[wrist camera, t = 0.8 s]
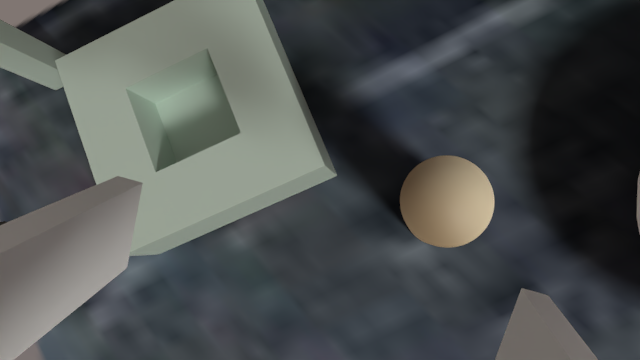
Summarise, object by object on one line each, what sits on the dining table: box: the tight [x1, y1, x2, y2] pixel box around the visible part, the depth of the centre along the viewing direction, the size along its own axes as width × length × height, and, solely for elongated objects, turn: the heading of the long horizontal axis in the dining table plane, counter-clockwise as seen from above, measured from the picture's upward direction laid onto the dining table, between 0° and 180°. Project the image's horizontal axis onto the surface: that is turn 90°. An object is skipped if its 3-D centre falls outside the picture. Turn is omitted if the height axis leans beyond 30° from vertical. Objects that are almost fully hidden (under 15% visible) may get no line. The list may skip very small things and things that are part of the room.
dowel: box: [400, 156, 494, 247], centre depth 29 cm, size 4×4×12 cm
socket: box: [0, 0, 337, 256], centre depth 24 cm, size 22×17×30 cm
